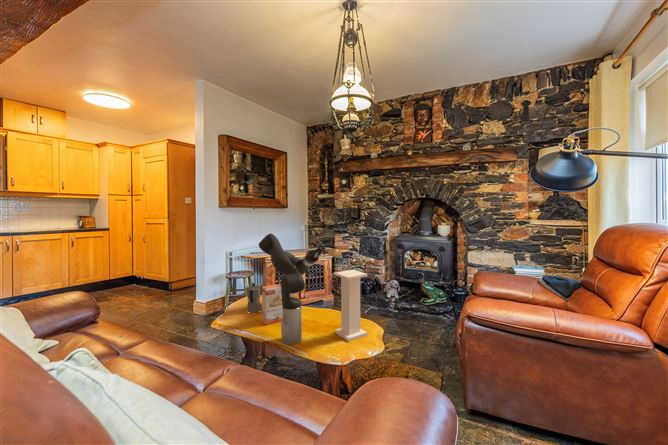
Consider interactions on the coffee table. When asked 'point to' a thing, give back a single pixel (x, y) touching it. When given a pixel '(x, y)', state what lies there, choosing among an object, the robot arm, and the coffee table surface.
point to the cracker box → (272, 304)
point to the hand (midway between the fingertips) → (322, 248)
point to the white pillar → (350, 305)
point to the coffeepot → (253, 298)
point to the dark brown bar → (332, 252)
